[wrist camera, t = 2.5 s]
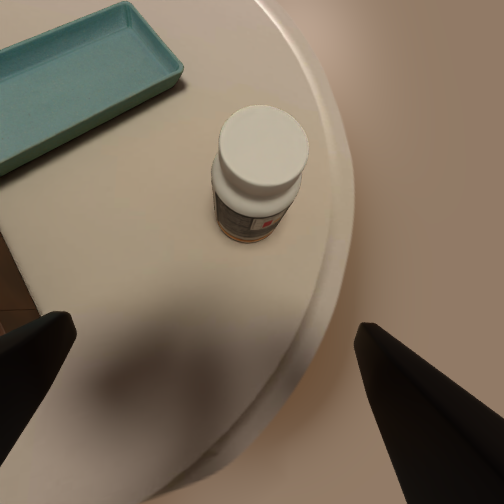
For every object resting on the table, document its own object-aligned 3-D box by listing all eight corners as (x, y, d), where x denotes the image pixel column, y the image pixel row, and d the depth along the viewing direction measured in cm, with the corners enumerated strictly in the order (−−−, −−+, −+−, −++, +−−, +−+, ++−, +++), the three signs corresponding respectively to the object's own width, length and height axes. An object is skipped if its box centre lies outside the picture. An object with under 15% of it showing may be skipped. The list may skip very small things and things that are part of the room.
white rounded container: (288, 228, 22) (340, 171, 13) (231, 254, 21) (240, 214, 11) (260, 174, 23) (288, 82, 13) (203, 197, 22) (189, 115, 12)
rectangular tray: (134, 21, 25) (125, -9, 22) (189, 88, 24) (186, 64, 21) (-165, 155, 19) (-221, 133, 16) (-105, 248, 18) (-155, 239, 16)
